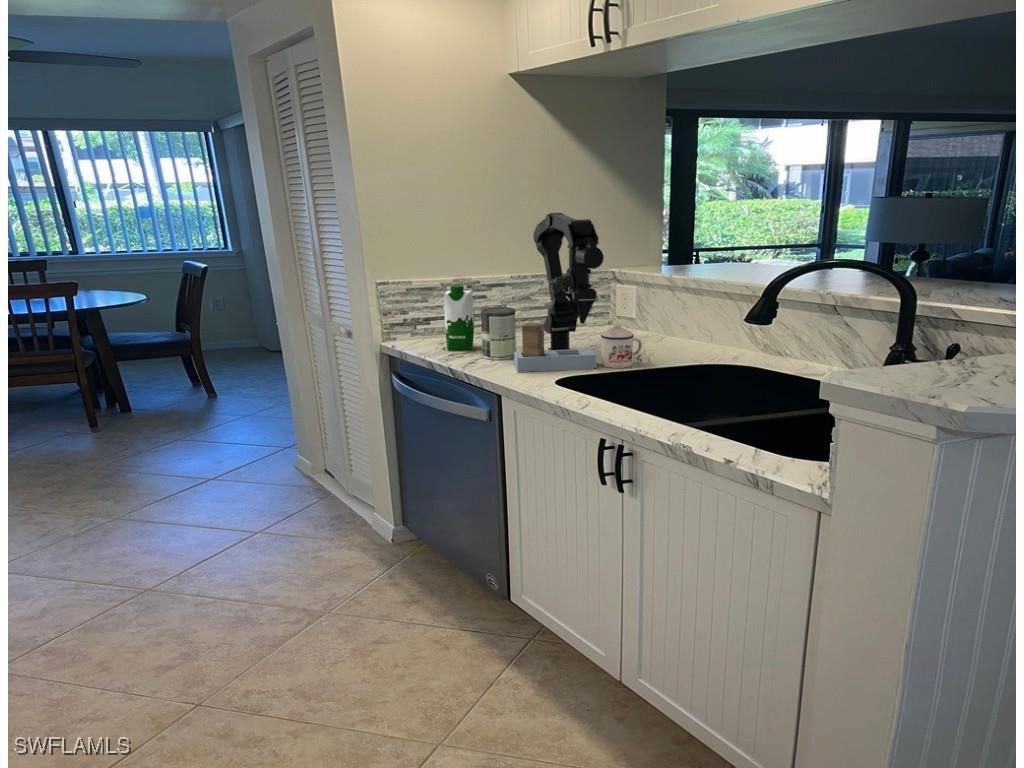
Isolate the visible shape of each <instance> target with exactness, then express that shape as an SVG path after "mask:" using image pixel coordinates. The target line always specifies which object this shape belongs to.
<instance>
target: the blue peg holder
mask: <svg viewBox="0 0 1024 768" xmlns="http://www.w3.org/2000/svg"><path fill="white" fill-rule="evenodd" d="M597 360H598V359H597V354H596V352H595V351H594V350H592V349H591V348H578V349H577V348H576V349H571V350H551V351H549V350H544V356H543V357H523V351H516V352H514V358H513V364H514V369H515V370H516V372H517V373H524V372H523V371H539V372H546V371H545V370H560V371H577V369H578V370H579V369H581V370H593V369H592V368H597V365H598V364H597V363H598V361H597Z"/></svg>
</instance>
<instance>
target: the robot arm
mask: <svg viewBox="0 0 1024 768" xmlns="http://www.w3.org/2000/svg"><path fill="white" fill-rule="evenodd" d="M564 238H566V241H567V242H568V244H567V248H568V267H567V269H566V274H563V269H562V263H561V259H560V250H561V248H562V245H563V239H564ZM599 239H600V238H599V236H598V233H597V230H596V228H595V225H594V224H593V222H592V220H591V219H590V218H587V219H586V218H583V219H575V218H573V217H570V216H568V215H566V214H564V213H562V212H549V213H547V214H546V216H545V217H544V219H542V220H541V221H540V222H539V223H537V224H536V226H535V228H534V231H533V242H534V243H535V247H536V250H537V251H538V252H539V254H540V255H541V256H542V257H543V261H544V267H545V271H546V272H545V273H546V277H547V278H546V279H547V282H548V283H547V284H548V289H549V295H550V296H549V297H550V305H549V307H548V308H547V316H546V317H545V321H544V333H545V332H546V333H547V334H549V335H550V347H548V348H547V351H551V350H572V349H571V348H570V333H571V332H576V329H577V323H578V318H579V323H580V324H585V323H586V320H587V319H588V315H589V314H590V311H591V309H592V307H593V305H594V303H595V302H596V300H597V296H598V293H597V292H598V291H596V290H595V289H594V288H593V287H592V284H591V283H590V274H591V273H592V269H594V270H595V269H598V268H599V267H600V266H601V265H602V264H603V262H604V258H605V256H604V254H603V251H602V250H601V249H600V248H599V247H598V245H599Z"/></svg>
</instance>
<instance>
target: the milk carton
mask: <svg viewBox="0 0 1024 768" xmlns="http://www.w3.org/2000/svg"><path fill="white" fill-rule="evenodd" d="M449 288H450V290H448V291H445V293H444V294H443V298H444V299H443V302H444V304H443V305H444V306H443V308H444V333H445V340H446V349H447V351H448V350H459V351H460V350H470V351H471V350H472V348H473V347H474V339H475V338H474V336H475V335H474V334H475V322H474V321H475V320H474V319H475V318H474V298H473V290H464V285H461V284H460V285H450V287H449ZM472 346H473V347H472ZM459 351H458V352H459Z"/></svg>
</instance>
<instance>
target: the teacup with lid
mask: <svg viewBox="0 0 1024 768" xmlns="http://www.w3.org/2000/svg"><path fill="white" fill-rule="evenodd" d="M600 337H601V366H602V367H604V366H606V367H605V368H608V367H612V368H611V369H625V367H627V368H629V366H630V367H631V365H632V366H633V357H634V356H636V355H639V353H641V351H642V349H643V343H642V340H641V339H639V338H637V337H635V335H634V333H633V332H632V331H630V330H627V329H626V328H624V327H622V324H620V323H615V324H613V327H611V328H609V329H608V330H605V331H602V332H601V334H600ZM634 342H638V347H637V350H636V351H635V352H634V351H633V350H634V349H633V347H634Z"/></svg>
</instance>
